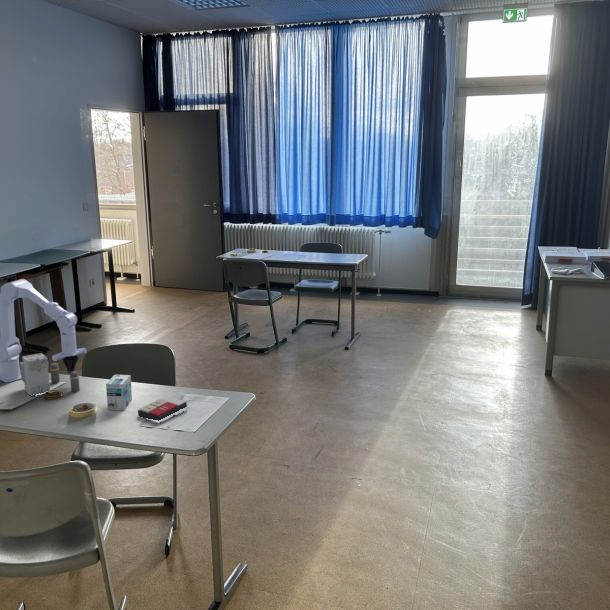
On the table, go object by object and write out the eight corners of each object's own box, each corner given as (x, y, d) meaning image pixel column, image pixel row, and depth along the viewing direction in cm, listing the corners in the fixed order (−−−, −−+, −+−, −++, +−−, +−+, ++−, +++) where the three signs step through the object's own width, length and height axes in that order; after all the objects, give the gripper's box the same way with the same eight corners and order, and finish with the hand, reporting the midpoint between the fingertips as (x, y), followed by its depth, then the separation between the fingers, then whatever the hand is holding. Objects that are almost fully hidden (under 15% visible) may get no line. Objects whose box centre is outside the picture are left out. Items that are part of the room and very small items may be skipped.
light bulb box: (124, 411, 230) (123, 384, 228) (106, 410, 230) (105, 383, 228) (132, 400, 241) (131, 374, 238) (115, 399, 241) (114, 374, 238)
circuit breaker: (39, 383, 256) (36, 349, 253) (50, 393, 246) (47, 358, 242) (21, 386, 251) (17, 352, 248) (31, 397, 241) (27, 361, 237)
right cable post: (69, 390, 248) (67, 372, 246) (76, 388, 251) (75, 370, 249) (74, 393, 246) (72, 374, 244) (81, 390, 249) (80, 372, 247)
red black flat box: (137, 408, 225) (166, 394, 237) (138, 419, 226) (166, 404, 238) (158, 415, 219) (187, 400, 231) (159, 426, 220) (187, 410, 232)
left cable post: (49, 382, 257) (48, 364, 255) (57, 380, 260) (55, 362, 258) (54, 384, 255) (52, 366, 253) (61, 382, 258) (60, 364, 256)
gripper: (57, 347, 243) (60, 379, 246) (89, 340, 254) (91, 370, 257) (48, 344, 247) (50, 375, 250) (80, 336, 258) (82, 366, 261)
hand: (70, 372), depth 254 cm, fingers closed
